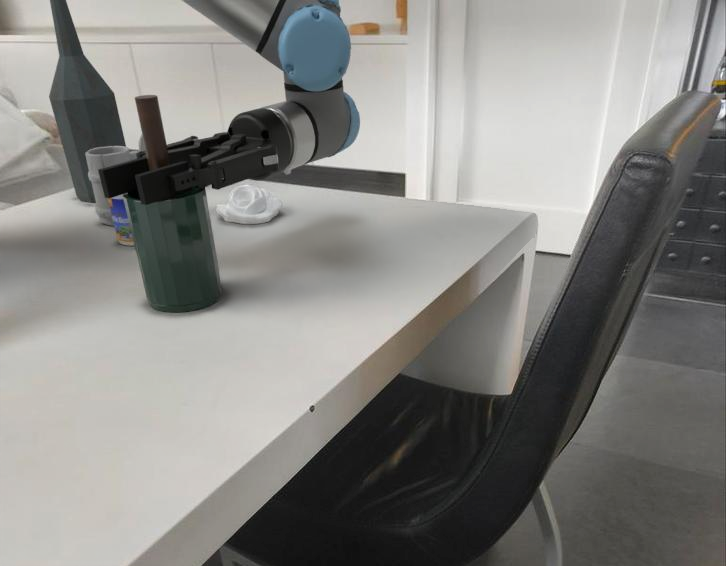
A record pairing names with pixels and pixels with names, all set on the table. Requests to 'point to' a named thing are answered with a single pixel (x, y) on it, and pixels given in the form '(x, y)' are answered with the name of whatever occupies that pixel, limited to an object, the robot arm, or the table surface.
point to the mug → (104, 159)
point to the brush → (153, 132)
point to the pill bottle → (121, 220)
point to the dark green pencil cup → (175, 250)
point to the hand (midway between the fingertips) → (122, 187)
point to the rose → (249, 205)
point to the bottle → (80, 103)
